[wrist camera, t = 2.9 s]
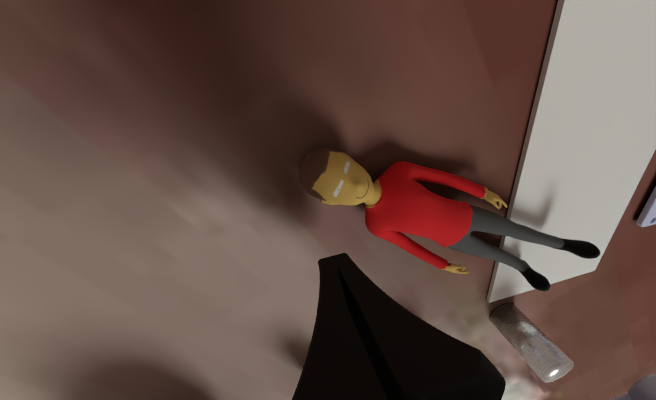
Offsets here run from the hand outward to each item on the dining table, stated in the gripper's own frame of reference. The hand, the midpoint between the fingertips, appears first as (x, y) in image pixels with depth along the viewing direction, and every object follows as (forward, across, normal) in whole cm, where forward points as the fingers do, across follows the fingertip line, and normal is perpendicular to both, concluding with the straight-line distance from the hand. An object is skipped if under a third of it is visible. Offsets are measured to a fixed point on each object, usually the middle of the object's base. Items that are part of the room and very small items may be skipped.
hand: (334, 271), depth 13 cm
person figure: (+3, -7, 0) cm, 8 cm away
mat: (+3, -17, 0) cm, 17 cm away
